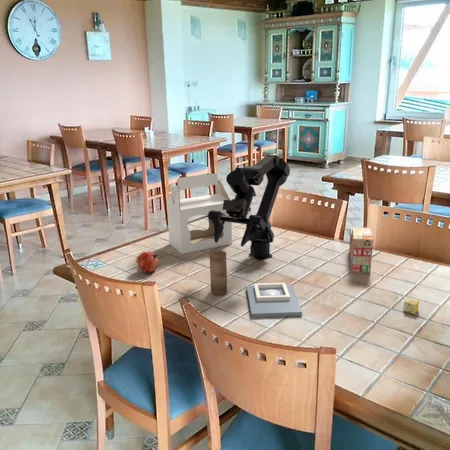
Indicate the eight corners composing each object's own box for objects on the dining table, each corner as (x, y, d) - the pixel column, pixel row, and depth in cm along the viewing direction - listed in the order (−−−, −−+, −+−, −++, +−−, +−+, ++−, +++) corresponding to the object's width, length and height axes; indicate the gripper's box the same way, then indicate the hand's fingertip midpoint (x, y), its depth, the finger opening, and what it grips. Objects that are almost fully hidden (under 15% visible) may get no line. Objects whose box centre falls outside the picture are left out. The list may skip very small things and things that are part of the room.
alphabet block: (406, 307, 130) (407, 297, 129) (418, 310, 128) (419, 300, 127) (403, 311, 128) (404, 301, 127) (414, 314, 126) (415, 304, 125)
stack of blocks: (348, 250, 174) (350, 219, 171) (365, 251, 173) (368, 220, 169) (351, 272, 154) (353, 238, 151) (370, 273, 153) (373, 238, 149)
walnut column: (215, 287, 145) (214, 249, 141) (229, 290, 143) (229, 251, 139) (208, 294, 141) (206, 254, 137) (222, 297, 139) (221, 257, 135)
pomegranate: (136, 281, 157) (156, 267, 152) (125, 263, 157) (144, 248, 153) (148, 275, 163) (167, 261, 159) (137, 258, 164) (156, 244, 160)
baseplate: (246, 289, 144) (246, 282, 143) (291, 287, 144) (291, 280, 143) (251, 317, 126) (251, 309, 126) (302, 315, 127) (302, 308, 126)
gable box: (217, 235, 195) (215, 169, 187) (232, 243, 184) (231, 175, 176) (168, 244, 185) (164, 175, 177) (181, 254, 174) (177, 182, 166)
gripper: (208, 186, 148) (192, 229, 143) (261, 191, 140) (247, 236, 134) (220, 203, 157) (206, 244, 152) (271, 208, 149) (258, 252, 143)
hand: (228, 244), depth 145 cm, fingers open, 9 cm apart
